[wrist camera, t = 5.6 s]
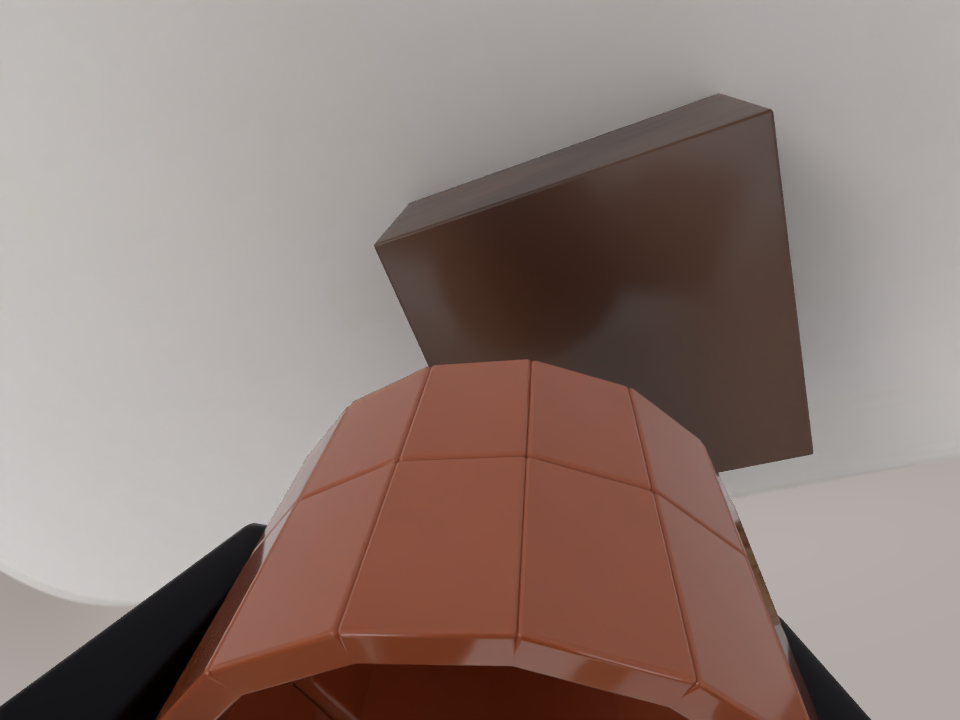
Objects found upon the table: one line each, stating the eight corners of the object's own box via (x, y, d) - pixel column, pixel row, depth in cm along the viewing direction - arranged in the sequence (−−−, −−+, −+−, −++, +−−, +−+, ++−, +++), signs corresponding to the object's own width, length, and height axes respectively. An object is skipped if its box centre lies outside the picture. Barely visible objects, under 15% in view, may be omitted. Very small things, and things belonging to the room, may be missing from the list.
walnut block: (721, 92, 15) (774, 108, 11) (764, 378, 19) (814, 454, 15) (407, 203, 17) (372, 245, 14) (504, 437, 21) (496, 516, 17)
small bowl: (818, 514, 9) (1030, 890, 5) (534, 691, 12) (527, 1010, 8) (469, 245, 7) (379, 482, 3) (246, 526, 10) (63, 823, 6)
